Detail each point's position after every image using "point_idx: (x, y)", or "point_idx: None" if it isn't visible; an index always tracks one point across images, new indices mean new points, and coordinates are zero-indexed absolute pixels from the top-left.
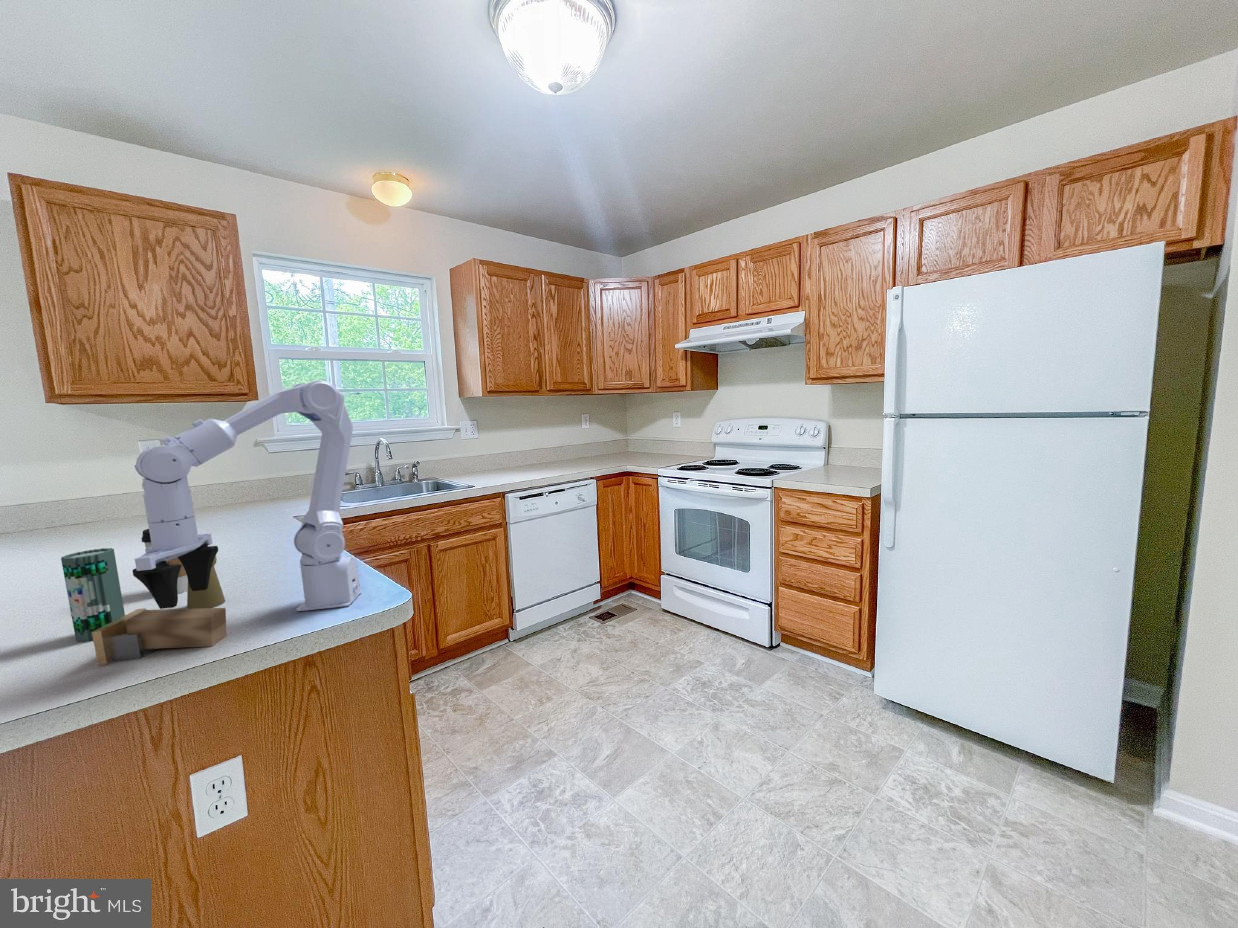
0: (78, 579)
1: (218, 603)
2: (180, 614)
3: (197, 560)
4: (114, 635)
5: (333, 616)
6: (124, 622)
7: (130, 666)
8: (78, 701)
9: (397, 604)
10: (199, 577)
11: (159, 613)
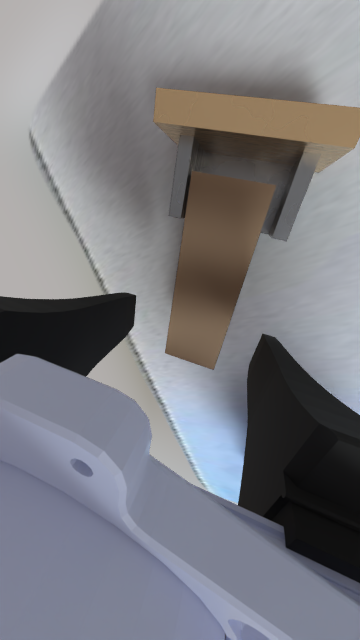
0: None
1: None
2: (196, 299)
3: (257, 452)
4: (188, 148)
5: (215, 445)
6: (242, 138)
7: (155, 215)
8: (60, 199)
9: (214, 493)
10: (255, 384)
11: (222, 247)
